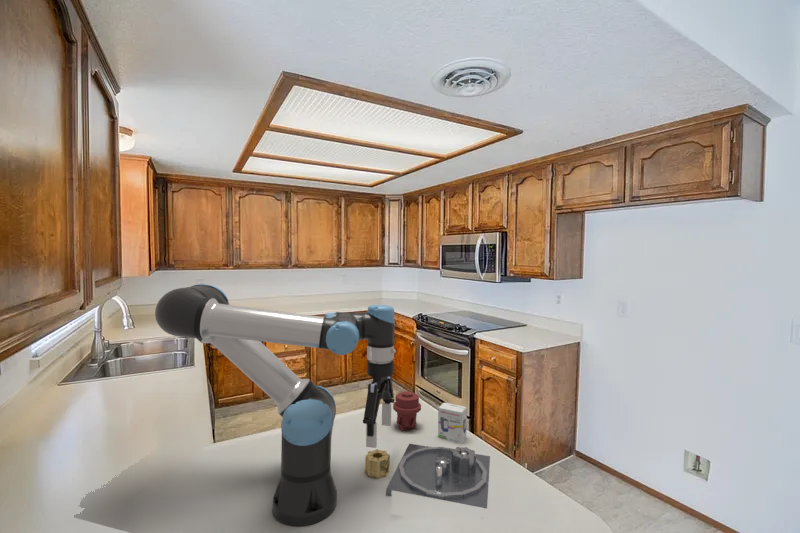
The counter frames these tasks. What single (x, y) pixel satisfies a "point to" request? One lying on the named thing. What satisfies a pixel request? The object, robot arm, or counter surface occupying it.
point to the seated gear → (463, 461)
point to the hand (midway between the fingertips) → (379, 435)
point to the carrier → (440, 476)
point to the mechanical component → (407, 409)
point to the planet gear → (377, 463)
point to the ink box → (452, 422)
